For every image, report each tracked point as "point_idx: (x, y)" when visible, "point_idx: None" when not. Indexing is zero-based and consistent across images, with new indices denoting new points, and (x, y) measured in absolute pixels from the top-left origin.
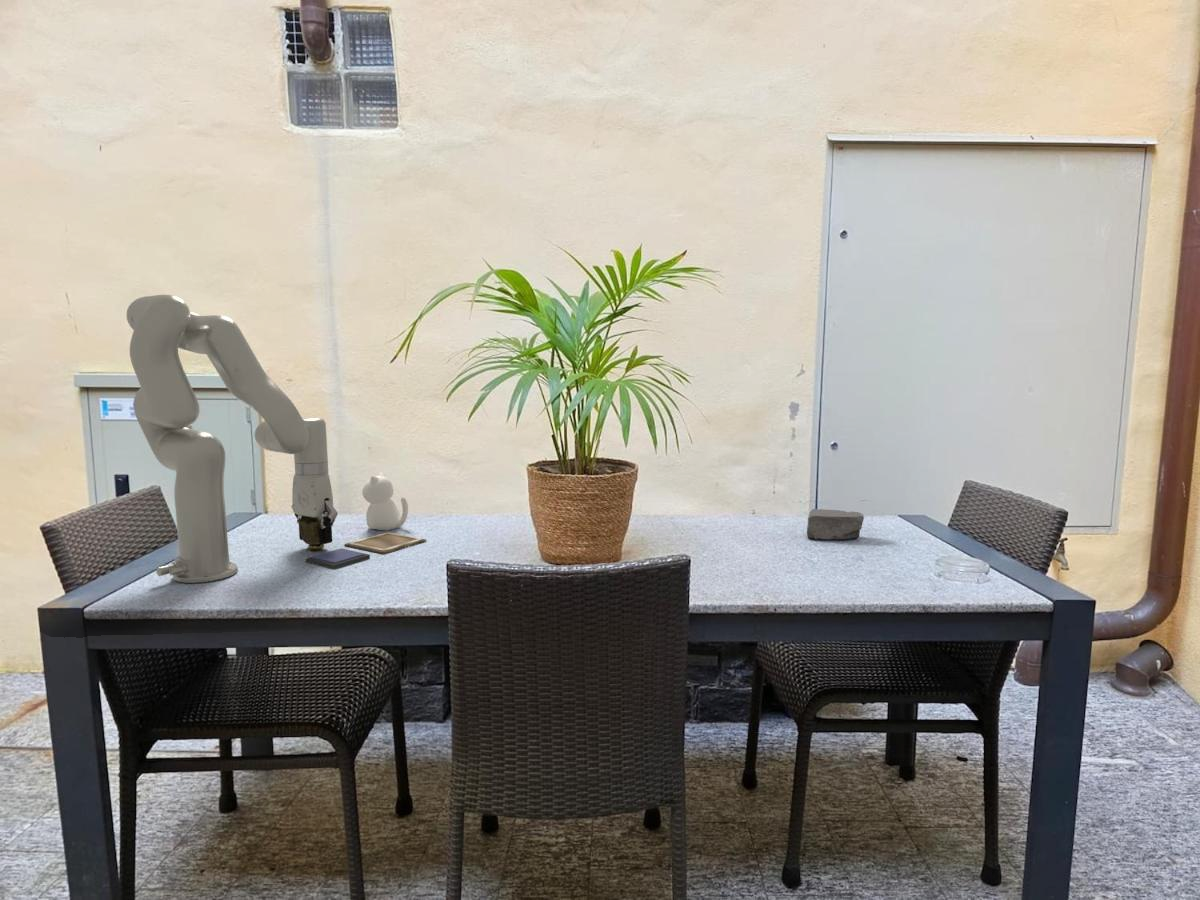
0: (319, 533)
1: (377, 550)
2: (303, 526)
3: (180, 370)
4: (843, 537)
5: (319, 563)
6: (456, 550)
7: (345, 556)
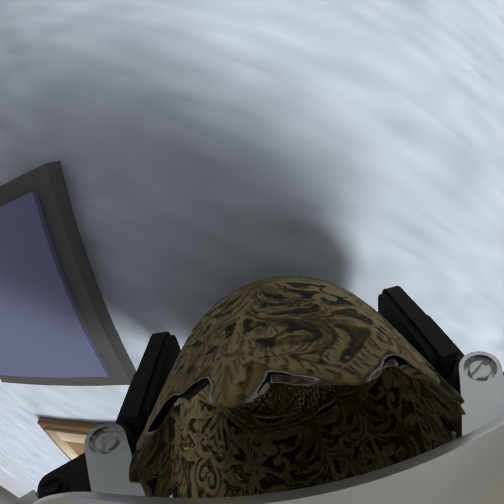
0: (143, 382)
1: (63, 429)
2: (251, 348)
3: None
4: None
5: None
6: (31, 478)
7: None
